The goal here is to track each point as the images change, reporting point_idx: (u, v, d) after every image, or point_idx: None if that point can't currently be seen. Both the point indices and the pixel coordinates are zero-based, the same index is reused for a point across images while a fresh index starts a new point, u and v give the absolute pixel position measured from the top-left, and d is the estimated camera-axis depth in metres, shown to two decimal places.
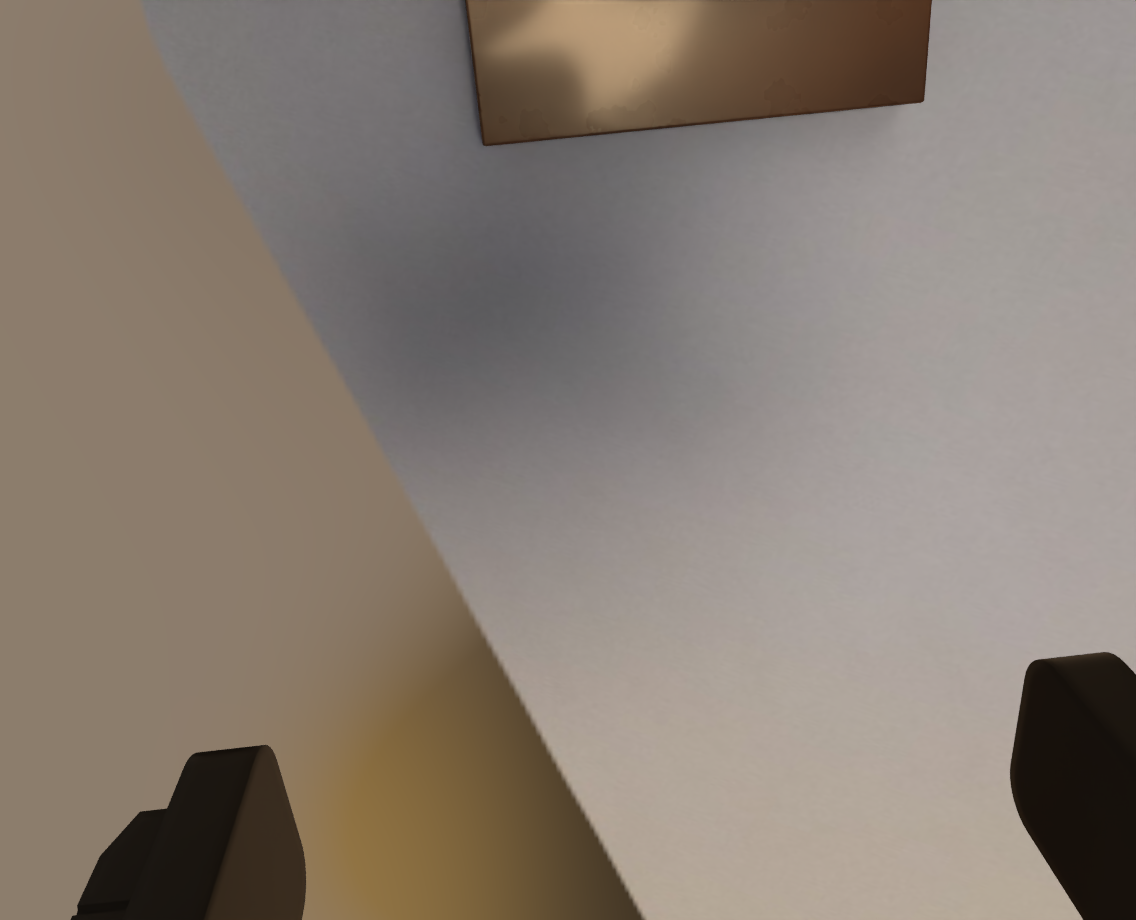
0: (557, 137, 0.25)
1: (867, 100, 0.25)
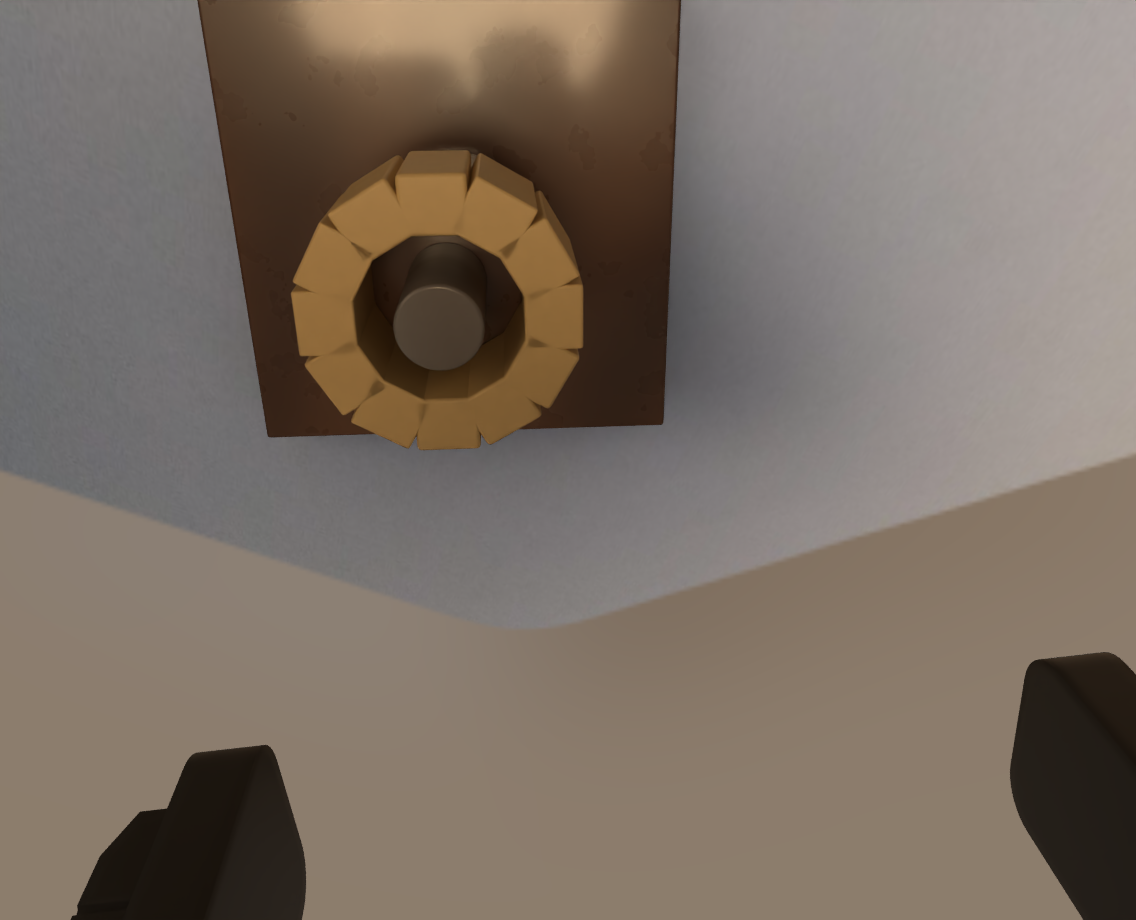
0: (664, 363, 0.28)
1: (671, 58, 0.24)
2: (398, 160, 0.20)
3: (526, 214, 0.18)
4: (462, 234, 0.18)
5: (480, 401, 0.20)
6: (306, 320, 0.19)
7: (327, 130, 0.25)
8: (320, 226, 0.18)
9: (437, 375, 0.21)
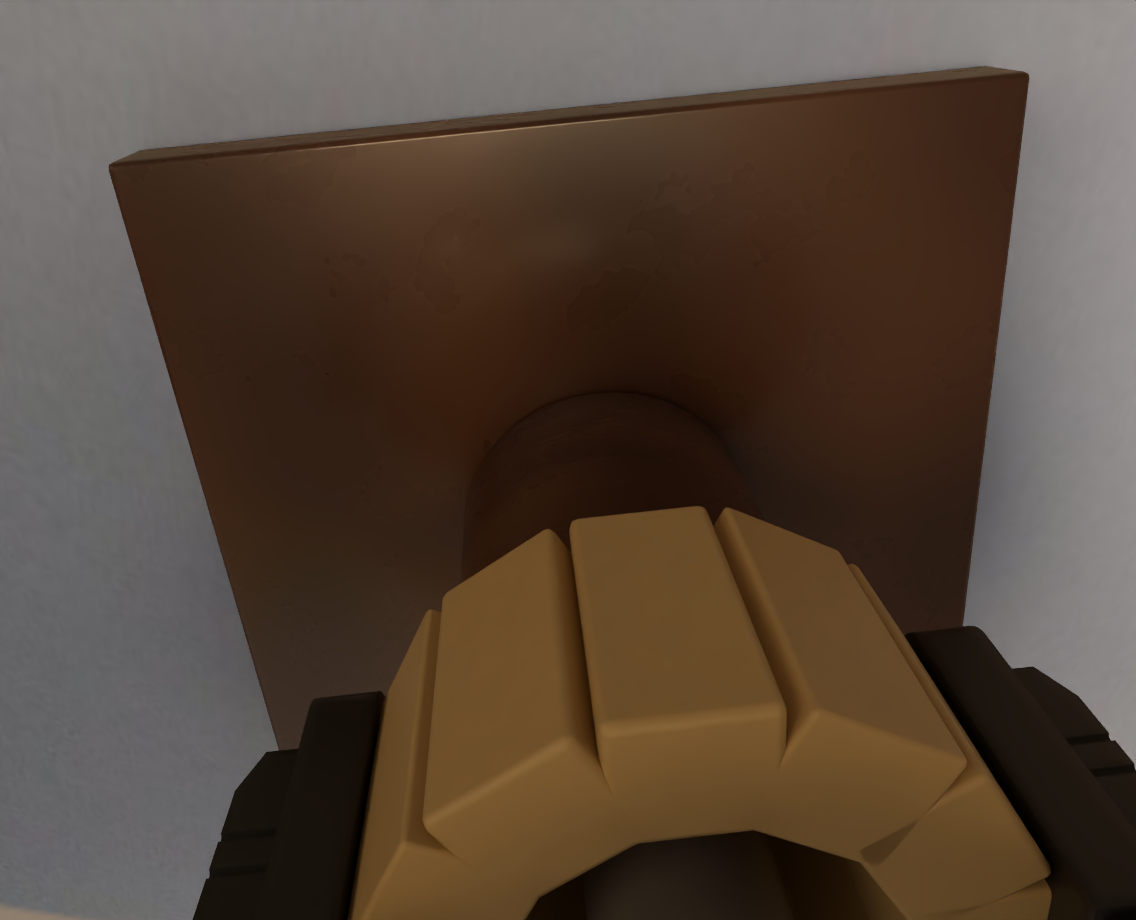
0: None
1: (1002, 197, 0.13)
2: (556, 558, 0.09)
3: (937, 772, 0.07)
4: (766, 822, 0.07)
5: None
6: None
7: (371, 378, 0.14)
8: (405, 853, 0.07)
9: None
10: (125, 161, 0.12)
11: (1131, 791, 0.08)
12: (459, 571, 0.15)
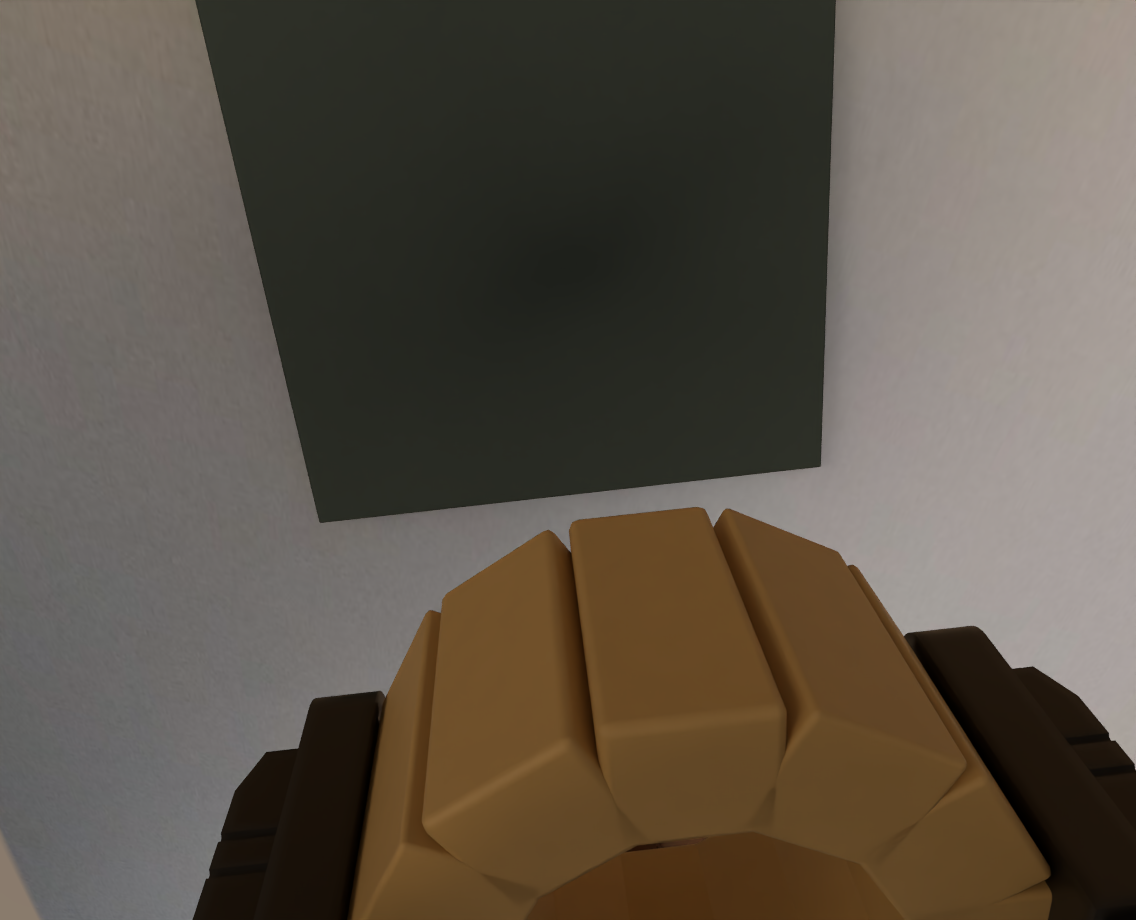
0: None
1: None
2: (555, 560, 0.09)
3: (937, 774, 0.07)
4: (765, 823, 0.07)
5: None
6: None
7: None
8: (404, 855, 0.07)
9: None
10: None
11: (1131, 791, 0.08)
12: None
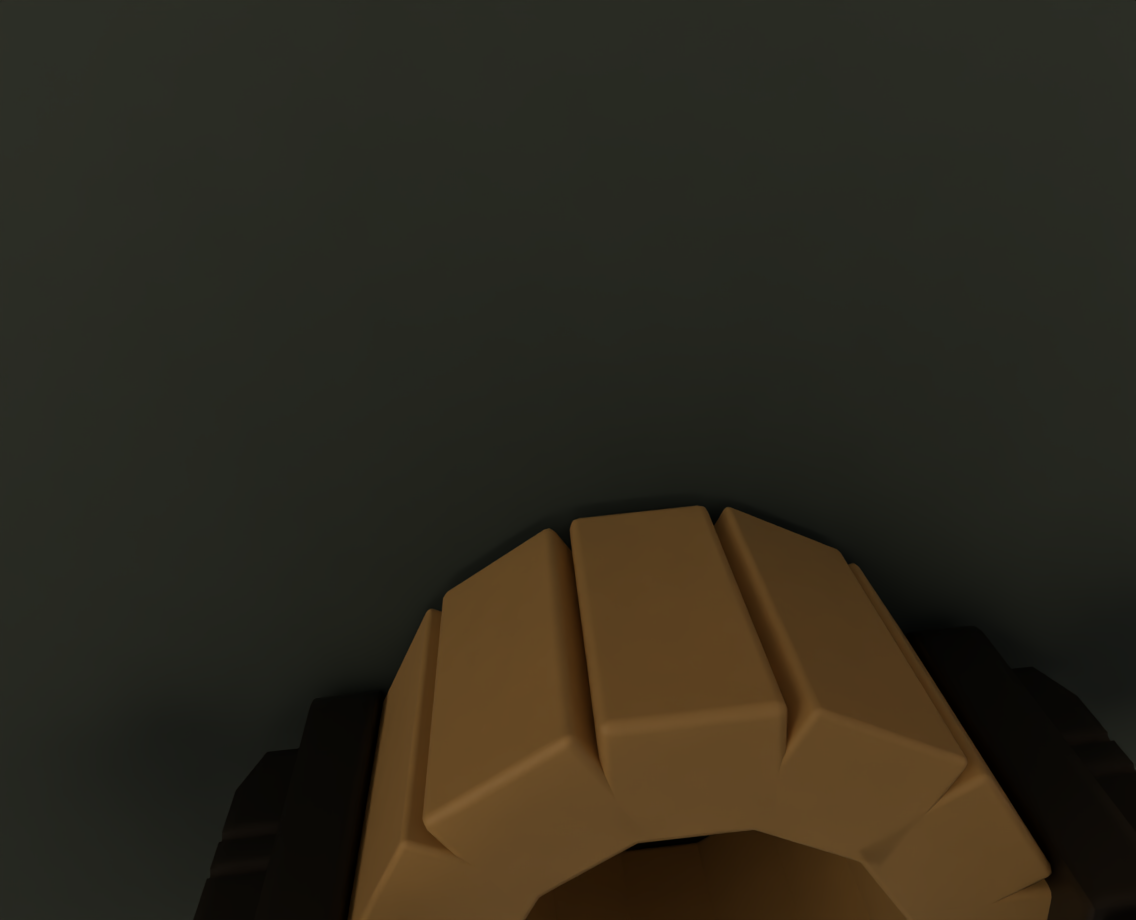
0: None
1: None
2: (556, 558, 0.09)
3: (938, 772, 0.07)
4: (767, 821, 0.07)
5: None
6: None
7: None
8: (405, 852, 0.07)
9: None
10: None
11: (1130, 791, 0.08)
12: None
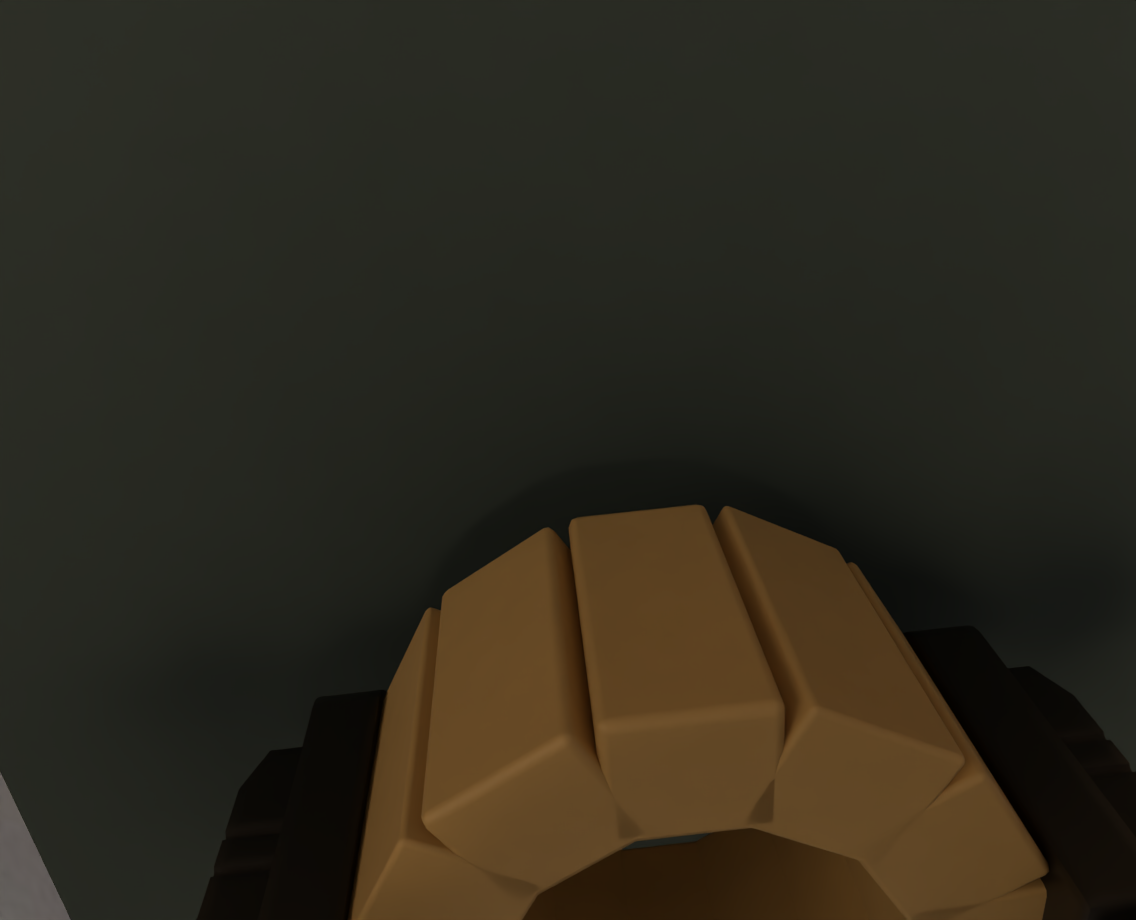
0: None
1: None
2: (555, 557, 0.09)
3: (935, 770, 0.07)
4: (763, 820, 0.07)
5: None
6: None
7: None
8: (404, 850, 0.07)
9: None
10: None
11: (1126, 790, 0.08)
12: None
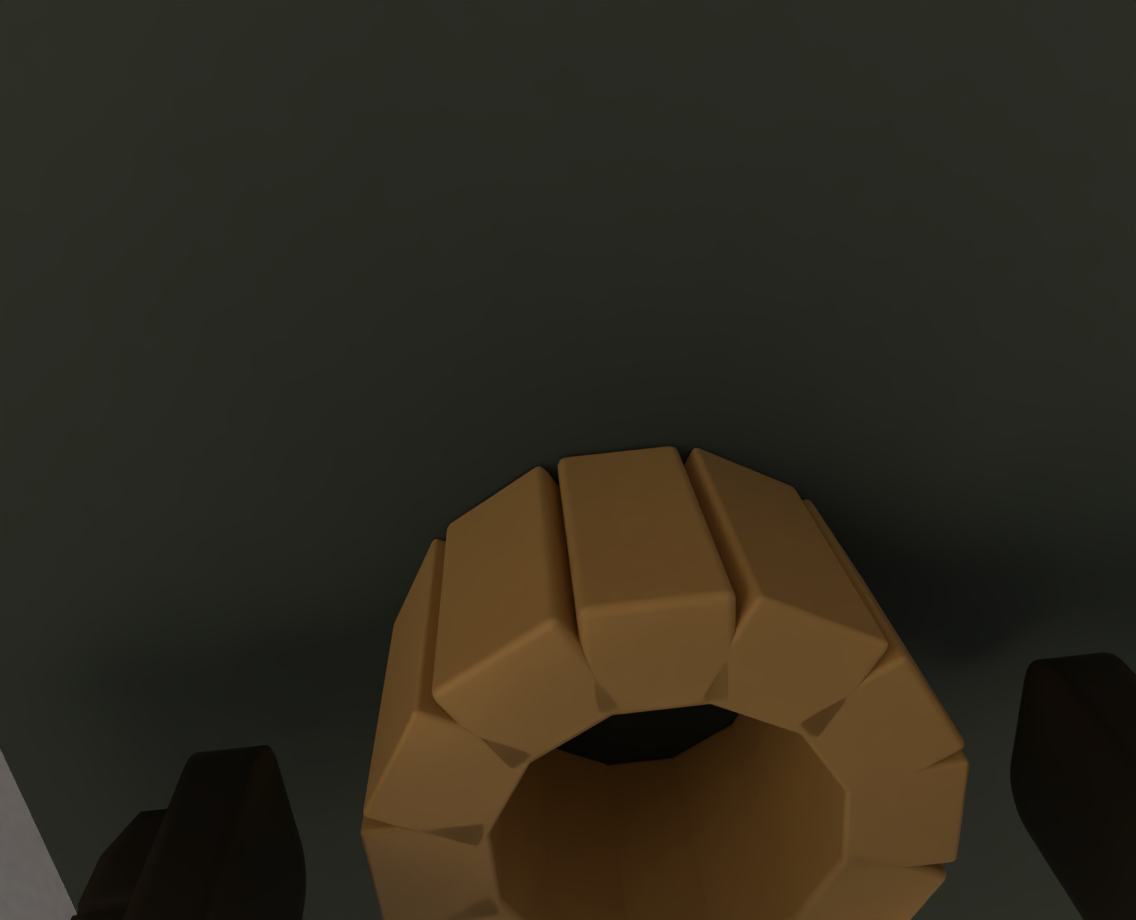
0: None
1: None
2: (545, 489, 0.10)
3: (863, 653, 0.08)
4: (722, 698, 0.09)
5: None
6: (395, 875, 0.09)
7: None
8: (417, 720, 0.08)
9: (635, 858, 0.11)
10: None
11: None
12: None
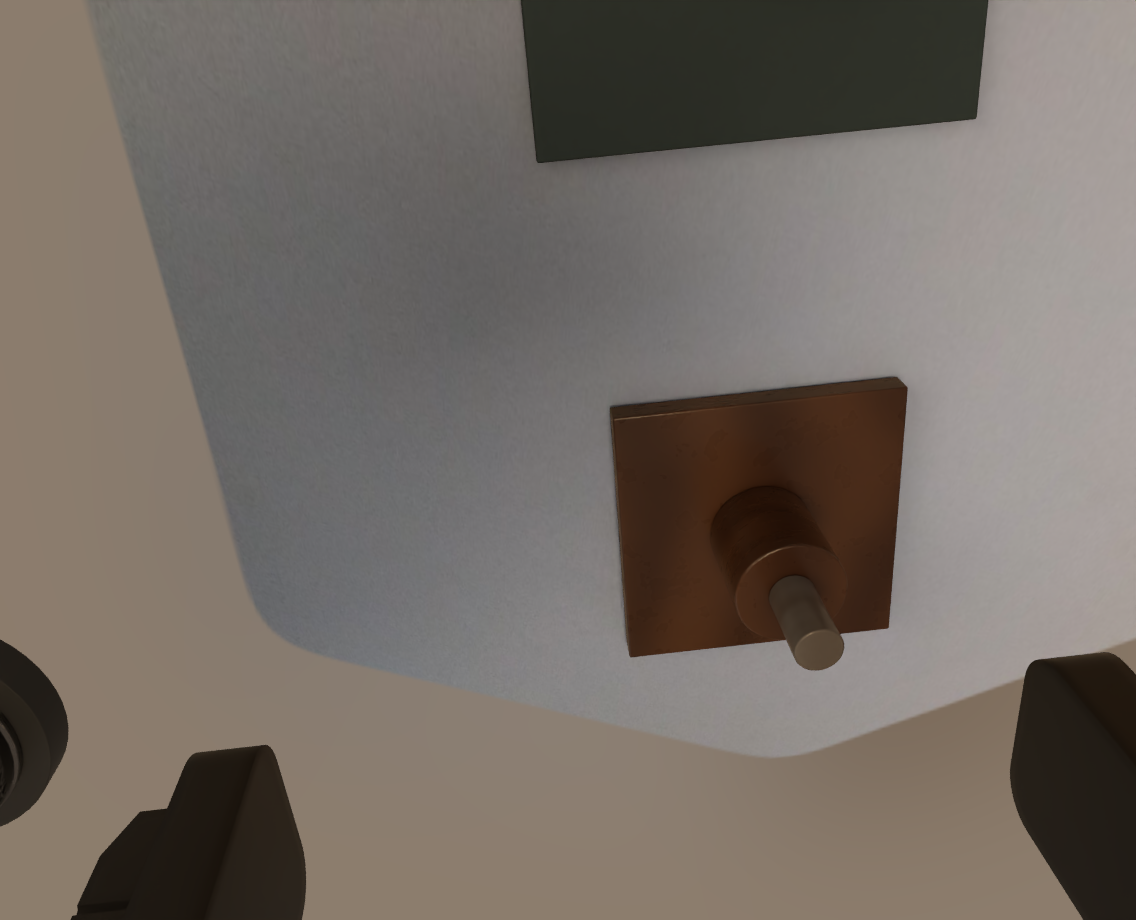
0: None
1: (900, 423, 0.39)
2: None
3: None
4: None
5: None
6: None
7: (685, 482, 0.39)
8: None
9: None
10: (618, 417, 0.38)
11: None
12: (706, 549, 0.41)
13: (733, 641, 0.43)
